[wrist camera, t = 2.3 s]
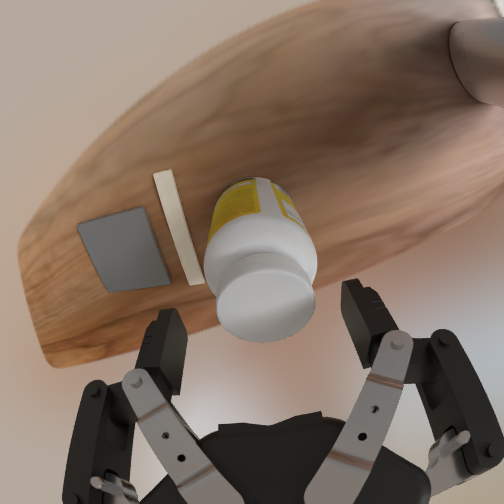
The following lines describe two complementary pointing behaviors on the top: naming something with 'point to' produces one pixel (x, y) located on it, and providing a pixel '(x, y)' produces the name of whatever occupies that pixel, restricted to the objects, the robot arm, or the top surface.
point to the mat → (125, 250)
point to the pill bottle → (260, 262)
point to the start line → (178, 226)
